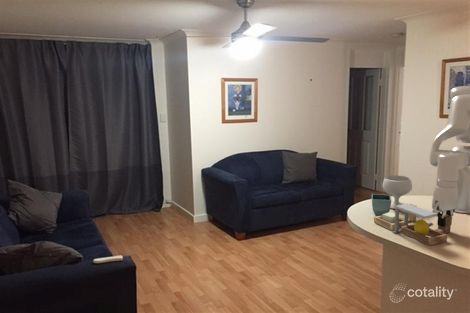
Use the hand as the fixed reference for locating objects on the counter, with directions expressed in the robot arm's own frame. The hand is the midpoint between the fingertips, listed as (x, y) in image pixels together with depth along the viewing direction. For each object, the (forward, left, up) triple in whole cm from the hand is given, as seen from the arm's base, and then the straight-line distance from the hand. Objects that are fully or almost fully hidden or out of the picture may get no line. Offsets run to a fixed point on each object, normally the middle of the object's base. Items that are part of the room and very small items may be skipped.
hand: (444, 224), depth 161 cm
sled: (+9, -17, -3) cm, 19 cm away
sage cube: (+13, -17, -3) cm, 21 cm away
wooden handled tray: (+7, 0, -3) cm, 8 cm away
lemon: (+13, 0, -3) cm, 13 cm away
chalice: (-8, -35, -3) cm, 36 cm away
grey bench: (+8, -2, -3) cm, 9 cm away
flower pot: (+7, -29, -3) cm, 30 cm away
